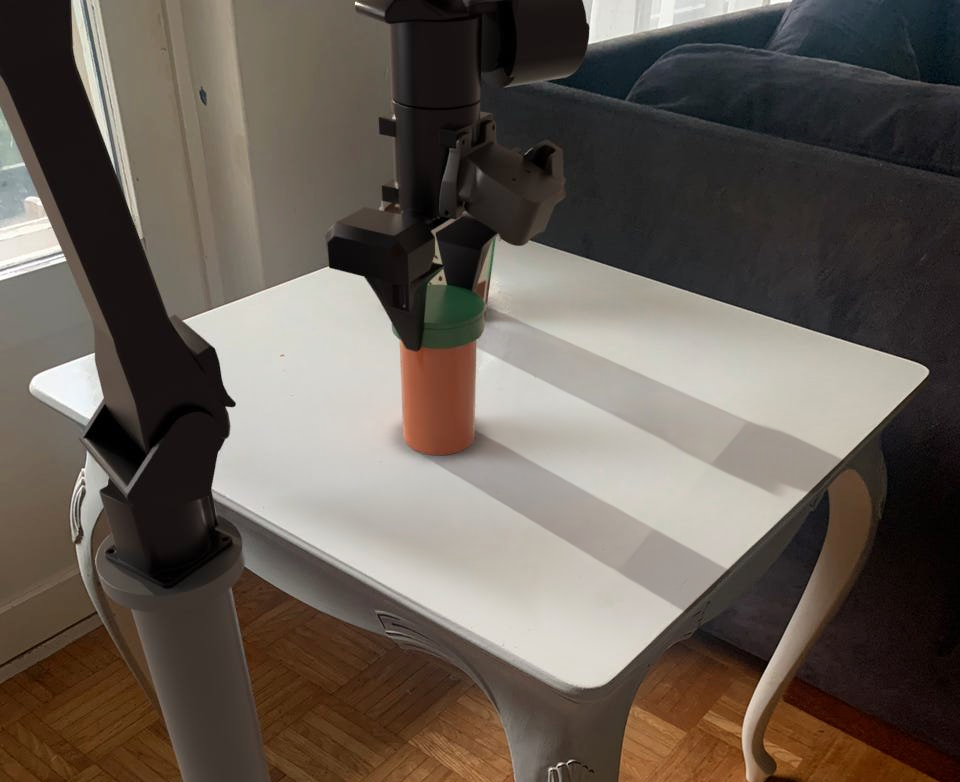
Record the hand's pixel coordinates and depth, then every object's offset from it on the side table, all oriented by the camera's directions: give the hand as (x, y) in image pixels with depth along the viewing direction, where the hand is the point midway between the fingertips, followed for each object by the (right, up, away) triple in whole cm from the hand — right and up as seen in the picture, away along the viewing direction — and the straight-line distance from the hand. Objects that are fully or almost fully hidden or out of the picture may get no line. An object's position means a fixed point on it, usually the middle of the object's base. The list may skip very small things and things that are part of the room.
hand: (437, 331), depth 71 cm
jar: (0, -7, +6) cm, 9 cm away
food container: (0, +11, +25) cm, 28 cm away
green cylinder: (0, +1, -1) cm, 2 cm away
